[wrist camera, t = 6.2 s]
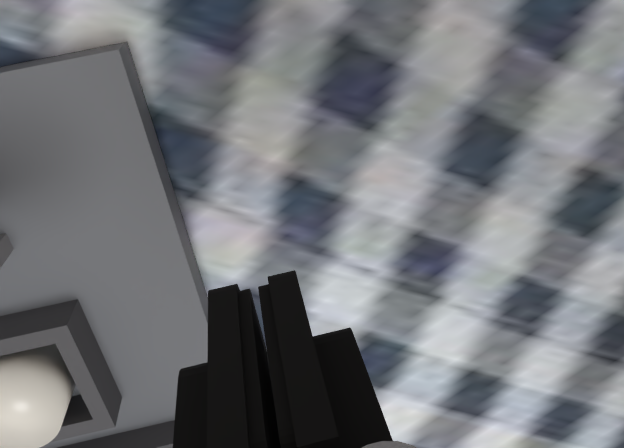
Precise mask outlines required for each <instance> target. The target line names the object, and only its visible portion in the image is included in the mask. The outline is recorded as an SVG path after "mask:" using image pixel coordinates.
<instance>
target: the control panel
mask: <svg viewBox="0 0 624 448" xmlns="http://www.w3.org/2000/svg"><path fill="white" fill-rule="evenodd" d="M52 344H56V346H57V348H58V350H59V352H60V354H61V356H62V358H63V360H64V362H65V364H66V366H67V368H68V370H69V372H70V374H71V376H72V378H73V380H74V382H75V384H76V386H75V388H74V391H73V394H72V397H71V400H70V403H69V406H68V409H67V411H66V414H65V417H64V420H63V423H62V426H61V429H60V431H59V433H58V434H57V436H56V437H55V438H54V439H53V440H52V441H51V442H49V443H48V444H46V445H44V446H42V447H40V448H173V436H174V423H175V410H176V397H177V384H178V375H179V371H180V369H182V368H186V367H190V366H194V365H198V364H202V363H207V359H208V297H207V294H206V291H205V288H204V285H203V281H202V278H201V275H200V272H199V269H198V266H197V262H196V259H195V256H194V253H193V250H192V247H191V243H190V240H189V237H188V234H187V231H186V227H185V224H184V221H183V218H182V215H181V212H180V208H179V205H178V202H177V199H176V196H175V193H174V189H173V186H172V183H171V180H170V177H169V174H168V170H167V167H166V164H165V161H164V158H163V154H162V151H161V148H160V145H159V142H158V139H157V135H156V132H155V129H154V126H153V123H152V120H151V116H150V113H149V110H148V107H147V104H146V101H145V97H144V94H143V91H142V88H141V85H140V82H139V78H138V75H137V72H136V69H135V66H134V62H133V59H132V56H131V53H130V50H129V47H128V43H127V42H125V43H120V44H115V45H109V46H104V47H99V48H94V49H89V50H84V51H79V52H74V53H69V54H64V55H59V56H54V57H49V58H44V59H39V60H33V61H28V62H23V63H18V64H13V65H8V66H3V67H0V356H3V355H7V354H12V353H16V352H20V351H25V350H29V349H34V348H38V347H43V346H47V345H52Z"/></svg>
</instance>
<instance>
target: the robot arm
mask: <svg viewBox="0 0 624 448" xmlns="http://www.w3.org/2000/svg"><path fill="white" fill-rule="evenodd" d="M268 282H269V284H268V285H264V286H259V287H258V289H259V296H260V304H261V311H262V318H263V325H264V332H265V339H266V346H265V342H264V339H263V335H262V331H261V328H260V324H259V320H258V316H257V313H256V309H255V305H254V302H253V298H252V294H251V291H250V289H246V290H242V291H240V290H239V287H238V285H237V284H235V285H230V286H226V287H222V288H217V289H213V290H209V291H208V359H207V363H202V364H198V365H194V366H190V367H186V368H182V369H180V371H179V375H178V384H177V397H176V410H175V423H174V436H173V448H416V447H415V446H413V445H409V444H406V443H402V442H399V441H393V440H392V438H391V435H390V432H389V429H388V427H387V424H386V421H385V419H384V416H383V413H382V410H381V408H380V405H379V402H378V400H377V397H376V394H375V392H374V389H373V386H372V383H371V381H370V378H369V375H368V373H367V370H366V367H365V364H364V362H363V359H362V356H361V354H360V351H359V348H358V345H357V343H356V340H355V337H354V335H353V332H352V330H351V328H347V329H342V330H338V331H334V332H330V333H326V334H322V335H318V336H314V337H312V333H311V329H310V325H309V321H308V318H307V314H306V310H305V306H304V302H303V298H302V295H301V291H300V287H299V283H298V279H297V275H296V272H295V271H290V272H286V273H282V274H277V275H273V276H269V277H268ZM266 347H267V350H266Z"/></svg>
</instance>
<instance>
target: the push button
mask: <svg viewBox="0 0 624 448" xmlns="http://www.w3.org/2000/svg"><path fill="white" fill-rule="evenodd" d="M75 386H76V384H75V382H74V380H73V378H72V376H71V374H70V372H69V370H68V368H67V366H66V364H65V362H64V360H63V358H62V356H61V354H60V352H59V350H58V348H57V346H56V344H52V345H47V346H43V347H38V348H34V349H29V350H25V351H20V352H16V353H12V354H7V355H3V356H0V448H40V447H42V446H44V445H46V444H48V443H49V442H51V441H52V440H53V439H54V438H55V437H56V436H57V434H58V433H59V431H60V429H61V426H62V423H63V420H64V417H65V414H66V411H67V409H68V406H69V403H70V400H71V397H72V394H73V391H74V388H75Z"/></svg>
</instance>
